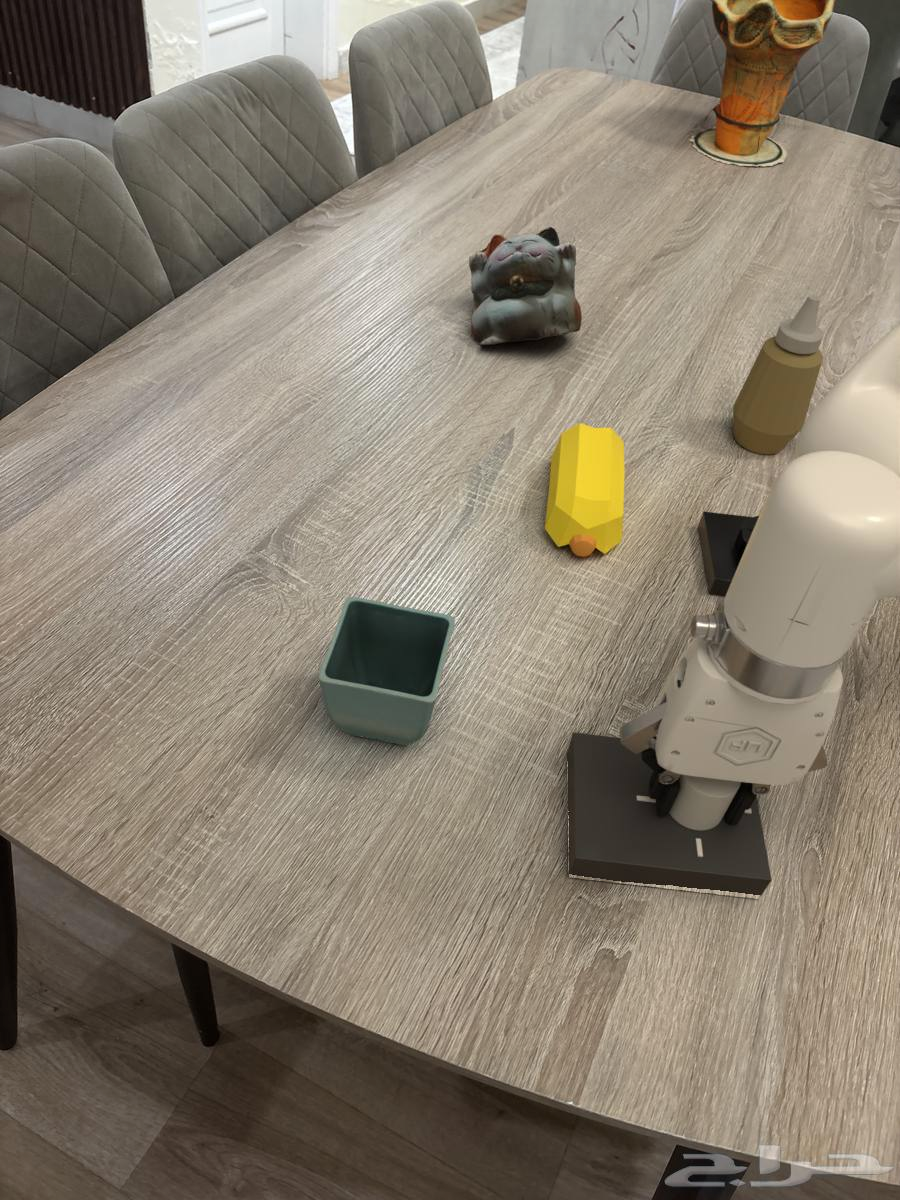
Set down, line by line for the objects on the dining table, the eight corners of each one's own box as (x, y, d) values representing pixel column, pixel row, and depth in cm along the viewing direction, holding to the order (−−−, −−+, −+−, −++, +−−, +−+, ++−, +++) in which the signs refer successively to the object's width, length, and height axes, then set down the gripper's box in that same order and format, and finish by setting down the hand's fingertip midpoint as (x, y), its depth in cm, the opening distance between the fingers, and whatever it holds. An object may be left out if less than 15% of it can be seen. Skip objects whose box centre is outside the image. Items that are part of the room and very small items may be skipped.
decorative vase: (653, 142, 174) (693, -35, 154) (725, 120, 186) (771, -47, 166) (745, 182, 164) (801, -2, 144) (815, 156, 176) (876, -17, 156)
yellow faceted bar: (540, 559, 92) (618, 571, 92) (551, 507, 87) (633, 520, 87) (551, 451, 105) (619, 461, 104) (561, 400, 100) (633, 411, 99)
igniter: (811, 540, 98) (826, 511, 95) (831, 609, 91) (847, 579, 88) (697, 527, 97) (708, 497, 95) (708, 595, 90) (720, 565, 88)
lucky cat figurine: (453, 348, 118) (448, 229, 114) (485, 342, 128) (481, 234, 124) (570, 344, 112) (569, 219, 108) (593, 339, 123) (593, 225, 119)
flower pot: (427, 772, 74) (435, 701, 67) (317, 750, 74) (316, 678, 68) (446, 687, 80) (456, 615, 73) (345, 667, 80) (346, 594, 74)
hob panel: (737, 773, 76) (750, 750, 74) (758, 900, 68) (772, 879, 66) (566, 753, 76) (573, 730, 74) (567, 878, 68) (575, 856, 66)
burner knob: (719, 783, 72) (738, 746, 68) (726, 834, 69) (747, 798, 65) (662, 776, 72) (678, 739, 68) (667, 827, 68) (684, 791, 65)
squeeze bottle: (712, 442, 108) (763, 298, 96) (739, 412, 113) (790, 271, 100) (778, 471, 106) (839, 326, 93) (803, 438, 110) (864, 297, 98)
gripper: (641, 672, 54) (582, 835, 67) (931, 705, 54) (816, 862, 67) (633, 582, 60) (580, 749, 73) (897, 612, 60) (797, 774, 73)
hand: (695, 802), depth 70 cm, fingers closed on burner knob, hob panel, 4 cm apart
